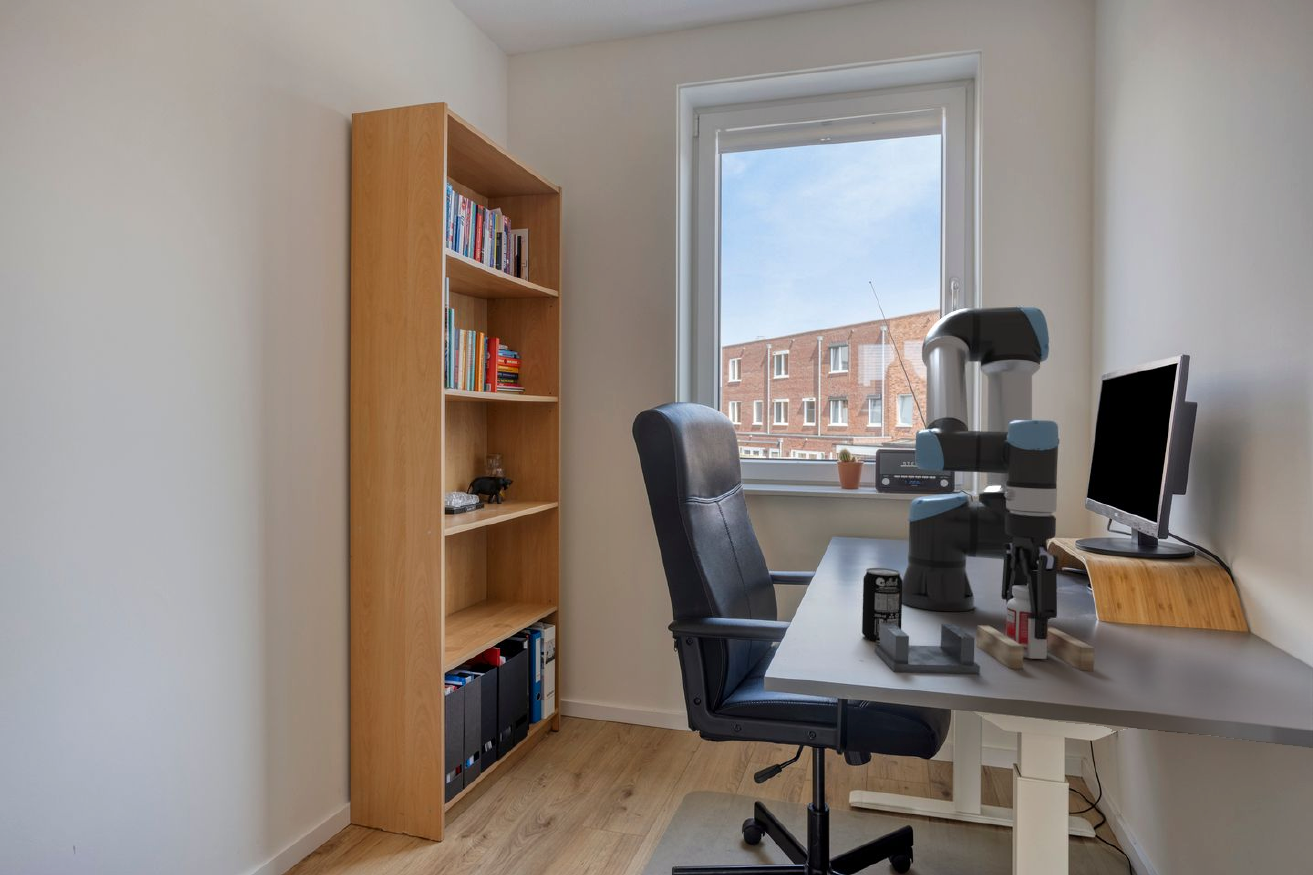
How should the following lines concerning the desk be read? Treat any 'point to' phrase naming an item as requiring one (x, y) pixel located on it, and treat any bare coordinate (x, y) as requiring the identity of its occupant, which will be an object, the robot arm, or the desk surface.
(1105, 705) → the desk surface
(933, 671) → the cradle
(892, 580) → the beverage can
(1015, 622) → the pill bottle
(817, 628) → the desk surface
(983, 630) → the guide channel
